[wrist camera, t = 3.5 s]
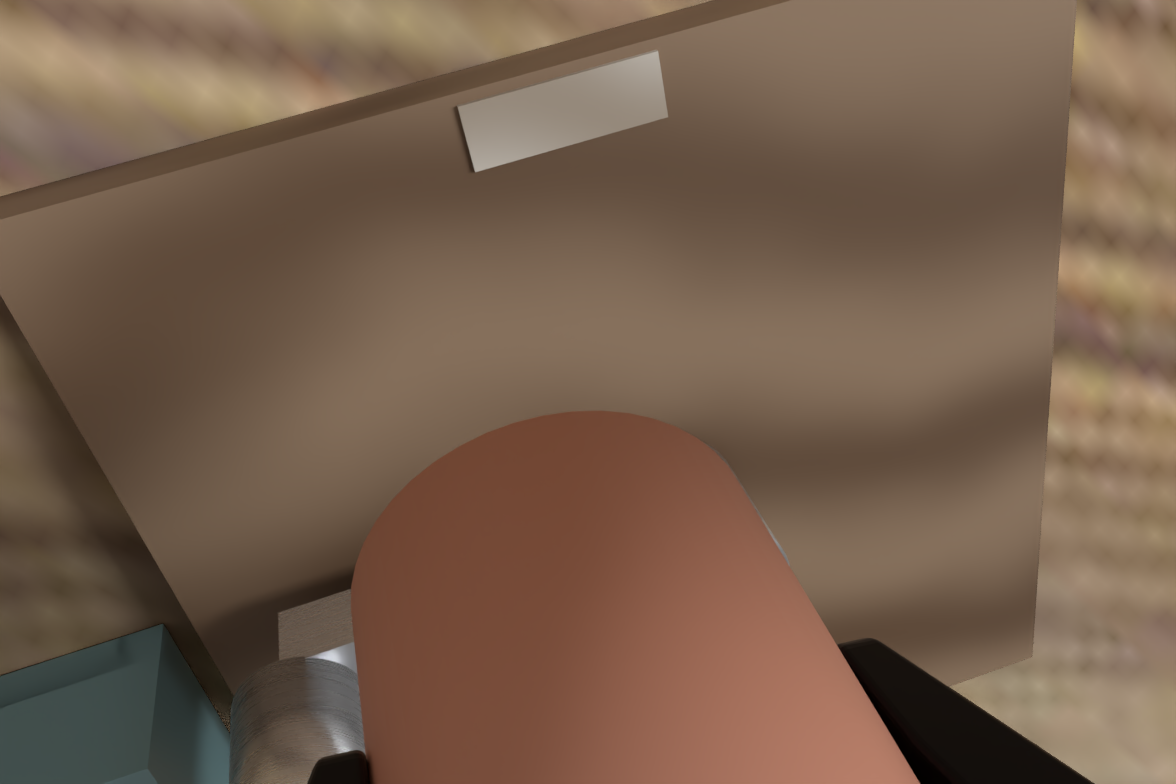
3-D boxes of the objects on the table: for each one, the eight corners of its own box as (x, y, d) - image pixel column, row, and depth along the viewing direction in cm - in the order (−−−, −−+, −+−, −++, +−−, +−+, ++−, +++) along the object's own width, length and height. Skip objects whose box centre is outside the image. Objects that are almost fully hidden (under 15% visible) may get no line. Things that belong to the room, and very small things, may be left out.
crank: (725, 412, 23) (883, 646, 17) (745, 548, 25) (890, 794, 19) (200, 580, 21) (178, 892, 16) (271, 707, 24) (274, 1021, 18)
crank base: (1008, 627, 31) (1034, 659, 30) (349, 860, 29) (352, 903, 28) (1042, -90, 20) (1085, -80, 19) (-22, 202, 18) (-39, 232, 17)
